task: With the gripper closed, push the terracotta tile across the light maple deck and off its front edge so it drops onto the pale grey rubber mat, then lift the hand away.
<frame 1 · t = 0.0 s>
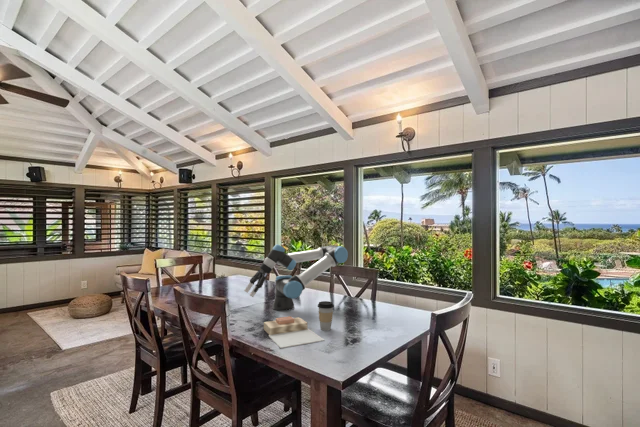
hand: (248, 294, 206), 15 cm above the table, tool tilted 35°, fingers open, 13 cm apart
tile: (285, 322, 185), point 4 cm above the table, touching deck
coffee cup: (325, 329, 186), on the table
deck: (285, 329, 184), on the table
mat: (296, 338, 171), on the table
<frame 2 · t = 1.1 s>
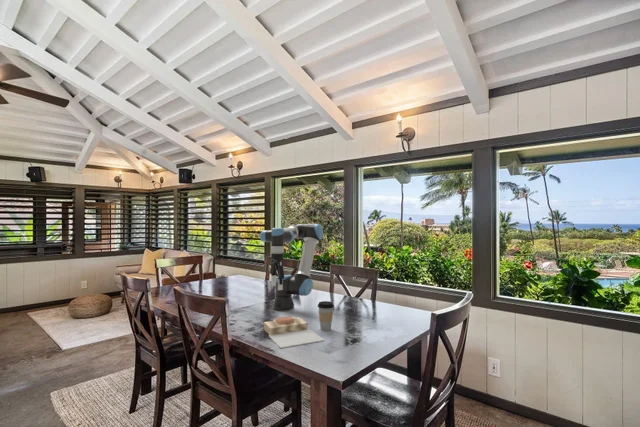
hand: (276, 288, 198), 21 cm above the table, tool pointing down, fingers open, 13 cm apart
nothing on the table moved.
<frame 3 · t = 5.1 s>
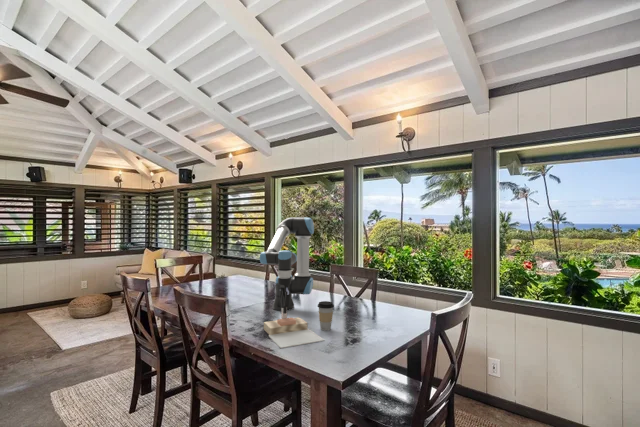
hand: (284, 318, 186), 6 cm above the table, tool pointing down, fingers closed
tile: (286, 323, 183), point 4 cm above the table, touching deck, gripper
everything else where it was.
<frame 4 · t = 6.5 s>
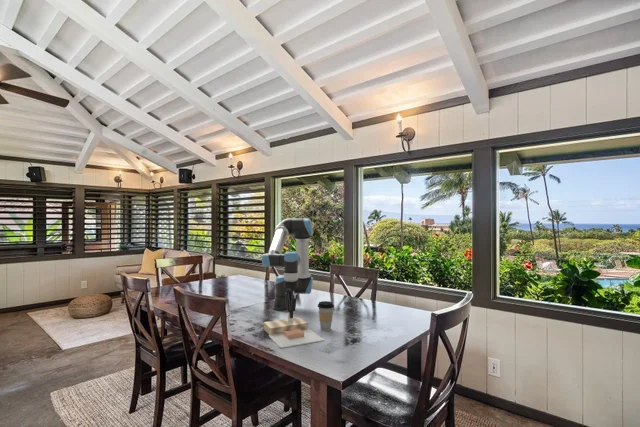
hand: (290, 323, 178), 6 cm above the table, tool pointing down, fingers closed
tile: (294, 332, 173), point 2 cm above the table, tilted 180°, touching mat
everything else where it was.
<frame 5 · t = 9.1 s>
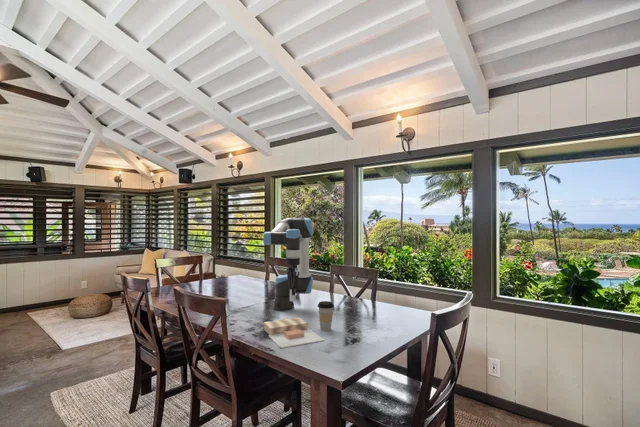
hand: (292, 300, 176), 18 cm above the table, tool pointing down, fingers closed
nothing on the table moved.
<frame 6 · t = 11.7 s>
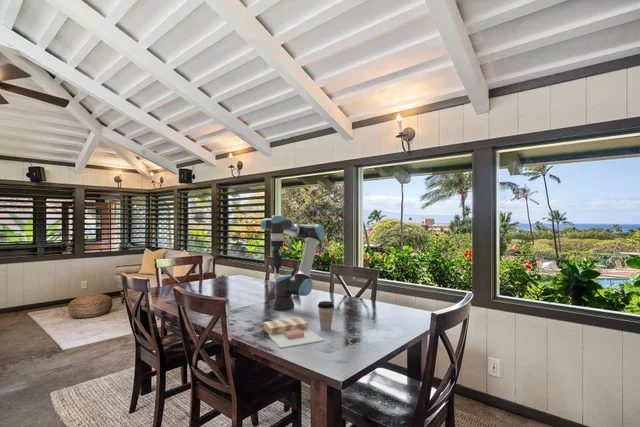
hand: (276, 278, 199), 26 cm above the table, tool pointing down, fingers closed
nothing on the table moved.
at the end: tile point 2.5 cm above the table; tile inside the target area (2.9 cm from its centre), point 2.5 cm above the table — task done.
